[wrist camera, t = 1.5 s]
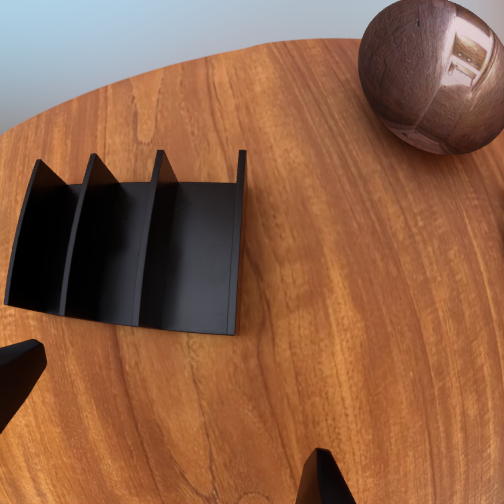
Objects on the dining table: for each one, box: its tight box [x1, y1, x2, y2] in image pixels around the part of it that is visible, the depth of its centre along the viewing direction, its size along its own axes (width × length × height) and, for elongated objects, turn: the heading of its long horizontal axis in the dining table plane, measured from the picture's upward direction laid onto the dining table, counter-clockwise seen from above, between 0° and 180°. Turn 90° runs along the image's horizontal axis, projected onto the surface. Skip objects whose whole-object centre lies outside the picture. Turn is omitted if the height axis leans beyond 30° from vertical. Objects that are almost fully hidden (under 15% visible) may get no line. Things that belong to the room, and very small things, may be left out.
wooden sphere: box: [358, 0, 504, 155], centre depth 21 cm, size 15×15×15 cm
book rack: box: [4, 150, 248, 336], centre depth 22 cm, size 18×12×6 cm
